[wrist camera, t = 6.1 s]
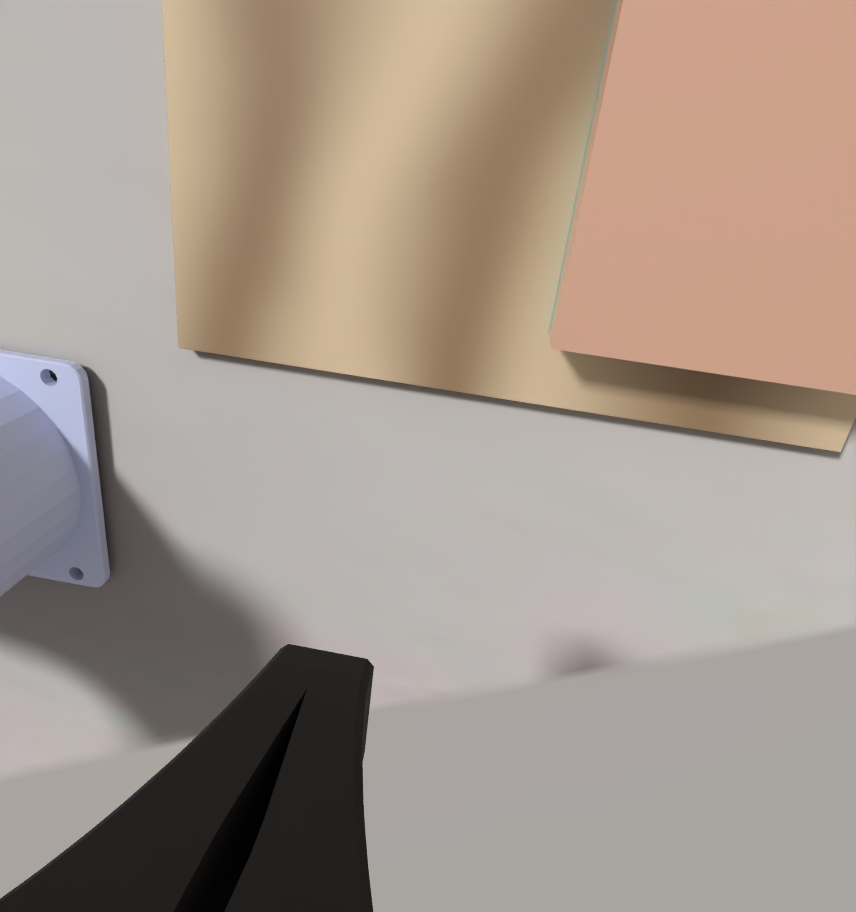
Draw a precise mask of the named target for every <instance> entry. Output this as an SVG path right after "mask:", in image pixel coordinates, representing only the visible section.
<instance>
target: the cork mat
mask: <svg viewBox="0 0 856 912" xmlns="http://www.w3.org/2000/svg"><path fill="white" fill-rule="evenodd" d="M614 3H615V0H162V15H163V36H164V56H165V77H166V98H167V119H168V139H169V160H170V181H171V201H172V222H173V243H174V263H175V284H176V305H177V326H178V346H179V348H183V349H189V350H196V351H202V352H209V353H215V354H221V355H228V356H234V357H240V358H247V359H253V360H259V361H266V362H272V363H278V364H285V365H291V366H297V367H304V368H310V369H316V370H323V371H329V372H335V373H342V374H348V375H354V376H361V377H367V378H373V379H380V380H386V381H392V382H399V383H405V384H411V385H418V386H424V387H430V388H437V389H443V390H449V391H456V392H462V393H469V394H475V395H481V396H488V397H494V398H500V399H507V400H513V401H519V402H526V403H532V404H538V405H545V406H551V407H557V408H564V409H570V410H576V411H583V412H589V413H595V414H602V415H608V416H614V417H621V418H627V419H633V420H640V421H646V422H652V423H659V424H665V425H671V426H678V427H684V428H690V429H697V430H703V431H710V432H716V433H722V434H729V435H735V436H741V437H748V438H754V439H760V440H767V441H773V442H779V443H786V444H792V445H798V446H805V447H811V448H817V449H824V450H830V451H836V452H841V450H842V448H843V446H844V443H845V441H846V439H847V436H848V434H849V432H850V429H851V427H852V425H853V423H854V420H855V418H856V395H853V394H847V393H840V392H833V391H827V390H820V389H814V388H807V387H800V386H794V385H787V384H781V383H774V382H767V381H761V380H754V379H748V378H741V377H734V376H728V375H721V374H714V373H708V372H701V371H695V370H688V369H681V368H675V367H668V366H662V365H655V364H648V363H642V362H635V361H628V360H622V359H615V358H609V357H602V356H595V355H589V354H582V353H576V352H569V351H562V350H556V349H551V344H550V338H549V332H548V330H549V325H550V320H551V315H552V310H553V305H554V300H555V295H556V290H557V286H558V281H559V276H560V271H561V266H562V261H563V256H564V251H565V246H566V241H567V236H568V231H569V226H570V221H571V216H572V211H573V206H574V201H575V196H576V191H577V186H578V181H579V176H580V171H581V166H582V161H583V156H584V152H585V147H586V142H587V137H588V132H589V127H590V122H591V117H592V112H593V107H594V102H595V97H596V92H597V87H598V82H599V77H600V72H601V67H602V62H603V57H604V52H605V47H606V42H607V37H608V32H609V27H610V23H611V18H612V13H613V8H614Z"/></svg>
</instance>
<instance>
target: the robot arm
mask: <svg viewBox="0 0 856 912" xmlns="http://www.w3.org/2000/svg"><path fill="white" fill-rule="evenodd" d="M49 370H51V371H53V372H54V373H55V374H56V377H57V381H55V380H54V379H53V378H52V377H51V376H50V373H49ZM77 568H78V569H80V570H81V571H82V572H83V573H82V572H80V571H79V570H78V569H77ZM26 575H29V576H34V577H39V578H45V579H50V580H55V581H61V582H66V583H71V584H77V585H82V586H87V587H94V588H98V587H100V586H102V585H103V584H104V583H105V582H106V581H107V580H108V579H109V577H110V568H109V559H108V550H107V541H106V532H105V523H104V514H103V505H102V496H101V488H100V479H99V470H98V461H97V452H96V443H95V434H94V425H93V416H92V407H91V398H90V390H89V381H88V377H87V373H86V372H85V370H84V369H83V367H81V366H80V365H79V364H78V363H76V362H73V361H70V360H63V359H57V358H51V357H45V356H39V355H32V354H26V353H20V352H14V351H7V350H1V349H0V597H1V596H2V595H3V594H5V593H6V592H7V591H8V590H9V589H11V588H12V587H13V586H14V585H16V584H17V583H18V582H19V581H20V580H22V579H23V578H24V577H25V576H26ZM373 669H374V666H373V665H372V664H371V663H370V662H369V660H368V659H365V658H359V657H354V656H349V655H344V654H338V653H333V652H328V651H323V650H317V649H312V648H307V647H301V646H296V645H291V644H288V645H286V646H284V647H283V648H281V649H280V650H279V651H278V652H277V654H276V655H275V656H274V657H273V658H272V659H271V660H270V661H269V663H268V664H267V665H266V666H265V667H264V668H263V669H262V670H261V671H260V673H259V674H258V675H257V676H256V677H255V678H254V679H253V680H252V681H251V682H250V683H249V684H248V685H247V687H246V688H245V689H244V690H243V691H242V692H241V693H240V694H239V695H238V696H237V697H236V698H235V699H234V700H233V701H232V702H231V703H230V704H229V705H228V706H227V707H226V708H225V709H224V710H223V711H222V712H221V713H220V714H219V715H218V716H217V717H216V718H215V719H214V720H213V721H212V722H211V723H210V724H209V725H208V726H207V727H206V728H205V729H204V730H203V731H202V732H201V733H200V734H199V735H198V736H197V737H196V738H195V739H194V740H193V741H192V742H190V743H189V744H188V745H187V747H185V748H184V749H183V750H182V751H181V752H180V753H179V754H178V755H177V756H176V757H175V758H174V759H172V760H171V761H170V762H169V763H168V764H167V765H166V766H165V767H164V768H162V769H161V770H160V771H159V772H158V773H157V774H156V775H155V776H153V777H152V778H151V779H150V780H149V781H148V782H147V783H145V784H144V785H143V786H142V787H141V788H140V789H139V790H137V791H136V792H135V793H134V794H133V795H132V796H131V797H130V798H129V799H127V800H126V801H125V802H124V803H123V804H122V805H120V806H119V807H118V808H117V809H116V810H114V811H113V812H112V813H111V814H110V815H109V816H107V817H106V818H105V819H104V820H102V821H101V822H100V823H99V824H98V825H96V826H95V827H94V828H93V829H92V830H90V831H89V832H88V833H86V834H85V835H84V836H83V837H82V838H80V839H79V840H78V841H77V842H75V843H74V844H73V845H71V846H70V847H69V848H68V849H66V850H65V851H64V852H62V853H61V854H60V855H59V856H57V857H56V858H55V859H53V860H52V861H51V862H50V863H48V864H47V865H46V866H45V867H43V868H42V869H40V870H39V871H38V872H37V873H35V874H34V875H32V876H31V877H30V878H29V879H27V880H26V881H24V882H23V883H21V884H20V885H19V886H18V887H16V888H14V889H13V890H12V891H10V892H9V893H8V894H6V895H5V896H3V897H2V898H1V899H0V912H373V906H372V898H371V889H370V880H369V870H368V859H367V847H366V838H365V837H366V836H365V822H364V805H363V768H362V761H363V757H364V752H365V743H366V734H367V724H368V715H369V706H370V697H371V688H372V679H373Z"/></svg>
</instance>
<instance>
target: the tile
mask: <svg viewBox="0 0 856 912" xmlns="http://www.w3.org/2000/svg"><path fill="white" fill-rule="evenodd" d="M548 332H549V338H550V344H551V349H556V350H562V351H569V352H576V353H582V354H589V355H595V356H602V357H609V358H615V359H622V360H628V361H635V362H642V363H648V364H655V365H662V366H668V367H675V368H681V369H688V370H695V371H701V372H708V373H714V374H721V375H728V376H734V377H741V378H748V379H754V380H761V381H767V382H774V383H781V384H787V385H794V386H800V387H807V388H814V389H820V390H827V391H833V392H840V393H847V394H853V395H856V0H615V3H614V8H613V13H612V18H611V23H610V27H609V32H608V37H607V42H606V47H605V52H604V57H603V62H602V67H601V72H600V77H599V82H598V87H597V92H596V97H595V102H594V107H593V112H592V117H591V122H590V127H589V132H588V137H587V142H586V147H585V152H584V156H583V161H582V166H581V171H580V176H579V181H578V186H577V191H576V196H575V201H574V206H573V211H572V216H571V221H570V226H569V231H568V236H567V241H566V246H565V251H564V256H563V261H562V266H561V271H560V276H559V281H558V286H557V290H556V295H555V300H554V305H553V310H552V315H551V320H550V325H549V330H548Z"/></svg>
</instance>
